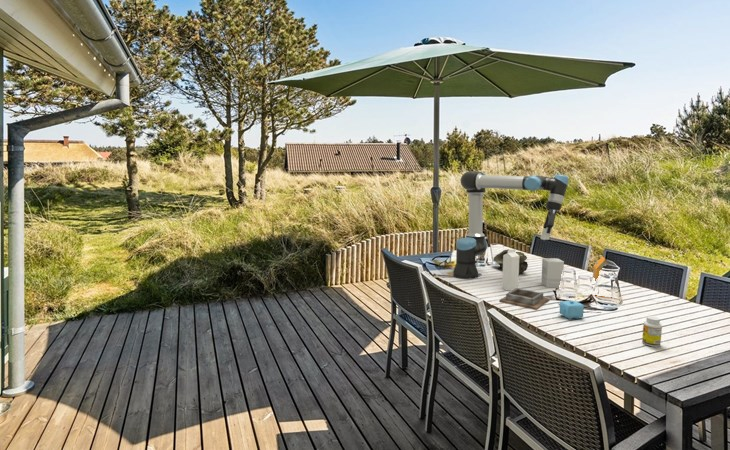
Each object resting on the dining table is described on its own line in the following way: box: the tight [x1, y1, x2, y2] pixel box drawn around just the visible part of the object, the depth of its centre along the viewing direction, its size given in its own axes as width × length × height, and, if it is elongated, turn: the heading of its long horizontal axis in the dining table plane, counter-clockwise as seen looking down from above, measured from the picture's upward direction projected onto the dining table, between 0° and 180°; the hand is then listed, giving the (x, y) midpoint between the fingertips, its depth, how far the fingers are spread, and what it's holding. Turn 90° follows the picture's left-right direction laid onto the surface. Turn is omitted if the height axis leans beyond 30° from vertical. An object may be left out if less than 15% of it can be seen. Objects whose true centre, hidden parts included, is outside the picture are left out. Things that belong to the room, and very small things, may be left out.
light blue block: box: [556, 300, 585, 320], centre depth 175 cm, size 12×6×8 cm, turn 96°
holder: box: [499, 287, 550, 311], centre depth 197 cm, size 18×18×4 cm
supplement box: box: [540, 257, 565, 288], centre depth 224 cm, size 9×9×15 cm
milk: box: [501, 249, 520, 292], centre depth 217 cm, size 6×6×22 cm
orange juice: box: [592, 255, 610, 281], centre depth 206 cm, size 8×9×20 cm
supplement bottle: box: [641, 315, 663, 348], centre depth 147 cm, size 6×6×10 cm
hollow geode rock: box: [493, 248, 529, 275], centre depth 258 cm, size 28×13×15 cm
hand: (544, 239), depth 220 cm, fingers open, 13 cm apart
